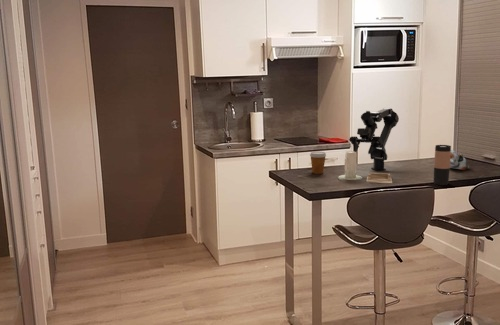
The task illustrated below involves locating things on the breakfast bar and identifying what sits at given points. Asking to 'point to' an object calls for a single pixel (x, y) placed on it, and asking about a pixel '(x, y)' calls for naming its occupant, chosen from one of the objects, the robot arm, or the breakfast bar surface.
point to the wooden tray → (379, 178)
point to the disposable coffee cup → (317, 162)
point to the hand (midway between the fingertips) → (361, 153)
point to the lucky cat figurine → (458, 161)
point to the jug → (350, 164)
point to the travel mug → (442, 164)
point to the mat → (349, 178)
